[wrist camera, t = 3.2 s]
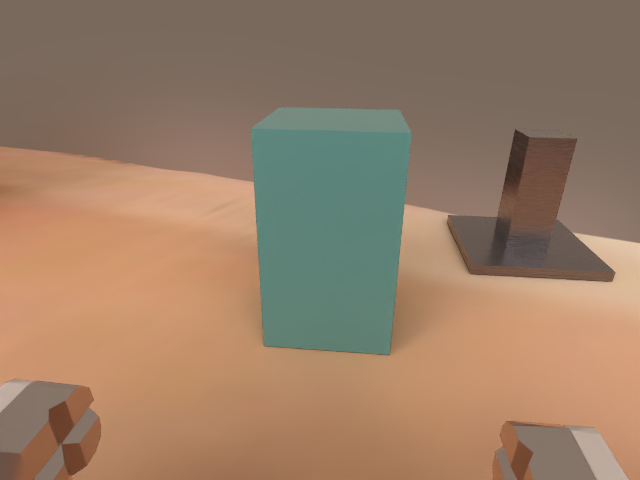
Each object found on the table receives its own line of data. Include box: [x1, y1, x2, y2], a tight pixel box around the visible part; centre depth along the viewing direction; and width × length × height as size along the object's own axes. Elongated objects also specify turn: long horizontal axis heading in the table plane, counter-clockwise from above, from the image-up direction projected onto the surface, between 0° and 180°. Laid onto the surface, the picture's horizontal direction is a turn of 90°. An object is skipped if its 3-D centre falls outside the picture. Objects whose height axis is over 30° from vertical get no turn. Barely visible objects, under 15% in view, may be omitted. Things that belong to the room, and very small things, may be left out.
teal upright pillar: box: [251, 107, 411, 355], centre depth 19 cm, size 6×6×10 cm
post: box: [447, 129, 615, 281], centre depth 27 cm, size 8×8×8 cm
